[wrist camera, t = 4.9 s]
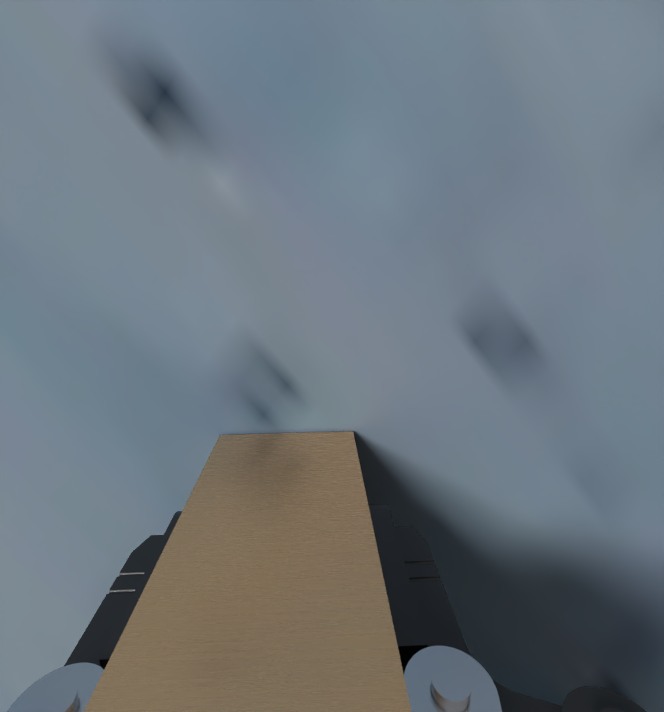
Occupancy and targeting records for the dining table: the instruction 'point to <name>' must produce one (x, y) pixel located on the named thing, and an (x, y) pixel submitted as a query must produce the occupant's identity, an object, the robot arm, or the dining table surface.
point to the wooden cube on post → (264, 592)
